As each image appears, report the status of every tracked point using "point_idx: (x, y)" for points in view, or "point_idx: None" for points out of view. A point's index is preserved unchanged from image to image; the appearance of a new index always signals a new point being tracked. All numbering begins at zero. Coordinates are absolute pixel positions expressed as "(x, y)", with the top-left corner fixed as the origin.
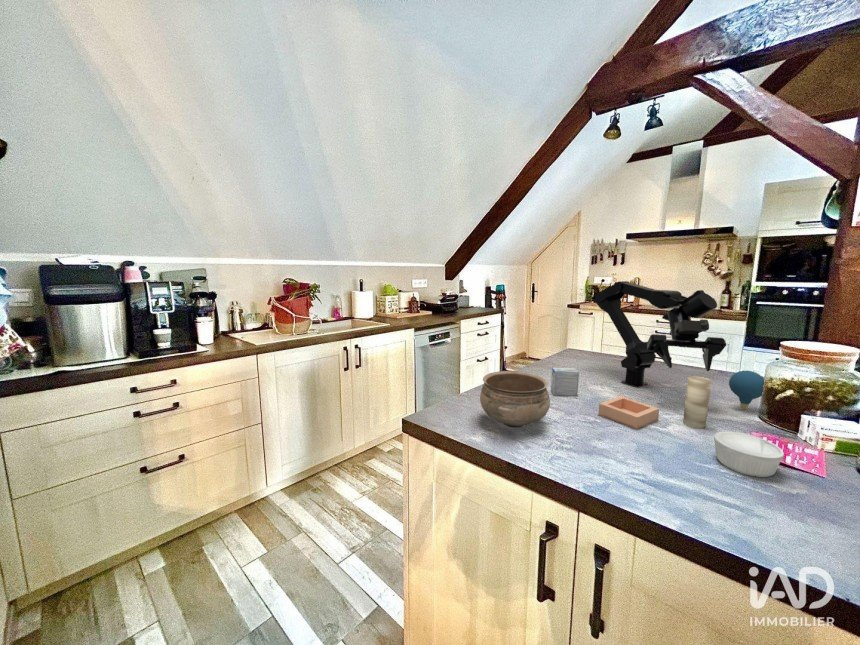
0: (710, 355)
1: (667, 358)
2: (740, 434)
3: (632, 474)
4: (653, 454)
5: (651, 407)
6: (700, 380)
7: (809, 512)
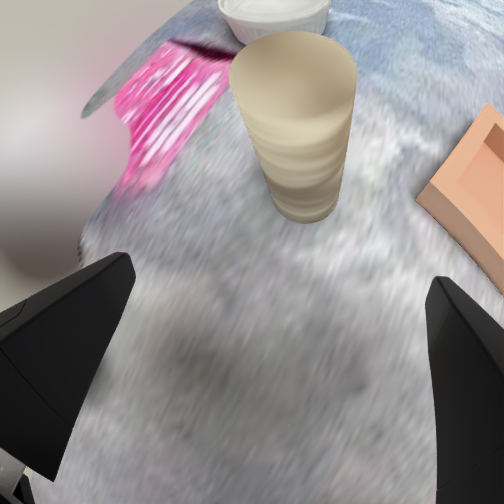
0: (9, 318)
1: (498, 329)
2: (264, 15)
3: (454, 3)
4: (434, 36)
5: (453, 186)
6: (298, 49)
7: None
